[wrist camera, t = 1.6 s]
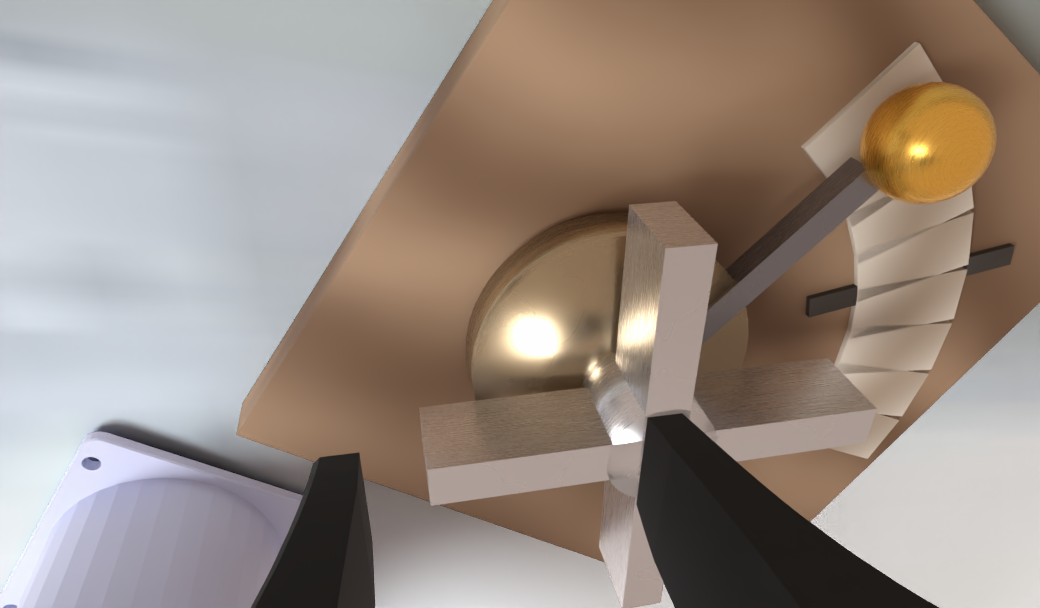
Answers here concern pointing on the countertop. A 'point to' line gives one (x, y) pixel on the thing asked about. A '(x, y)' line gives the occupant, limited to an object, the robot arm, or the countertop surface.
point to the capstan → (671, 336)
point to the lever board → (698, 190)
